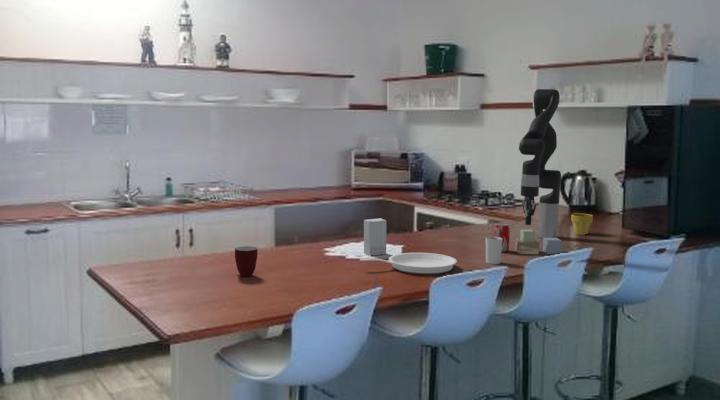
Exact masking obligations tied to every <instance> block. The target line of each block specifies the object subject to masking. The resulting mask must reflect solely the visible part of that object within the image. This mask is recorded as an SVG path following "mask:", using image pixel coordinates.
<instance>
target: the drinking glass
mask: <svg viewBox="0 0 720 400" xmlns="http://www.w3.org/2000/svg"><path fill="white" fill-rule="evenodd" d="M501 250H502V238H500V237H493V236H486V237H485V263H486V264H489V263H490V264H489V265H499V264H501V260H502V252H501Z"/></svg>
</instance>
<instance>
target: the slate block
mask: <svg viewBox="0 0 720 400" xmlns="http://www.w3.org/2000/svg"><path fill="white" fill-rule="evenodd" d="M542 252H544V253H545V254H547V255H557V254H556V253H562V240H561V239H559V238H558V237H557V238H542Z"/></svg>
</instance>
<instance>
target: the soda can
mask: <svg viewBox="0 0 720 400" xmlns="http://www.w3.org/2000/svg"><path fill="white" fill-rule="evenodd" d="M510 232H511V229H510V226H509V223H501V222H497V223H495V225H494V226H493V233H492V237H500V238H502V250H501V253H506V252H508V251H509V249H510V240H511V239H510V237H511V233H510Z"/></svg>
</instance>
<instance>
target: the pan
mask: <svg viewBox="0 0 720 400" xmlns="http://www.w3.org/2000/svg"><path fill="white" fill-rule="evenodd" d="M359 261H361V262H367V261H377V262H378V261H379V262H383V263H388V264H391V265H392V268H393V269H395V270H396V271H399V272H402V273H406V274H413V275H438V274H440V275H441V274H444V273H445V274H446V273H448V272H450V271H451V270H452V269H453V268H454V265H456V264H457V262H458V260H457V259H456V258H455V257H453V256H449V255H446V254H441V253H440V254H439V253H434V252H433V253H432V252H404V253H398V254H394V255H391V256H390V257H388V259H387V260H385V259H381V258H369V257H368V258H367V257H366V258H360V259H359Z"/></svg>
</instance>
